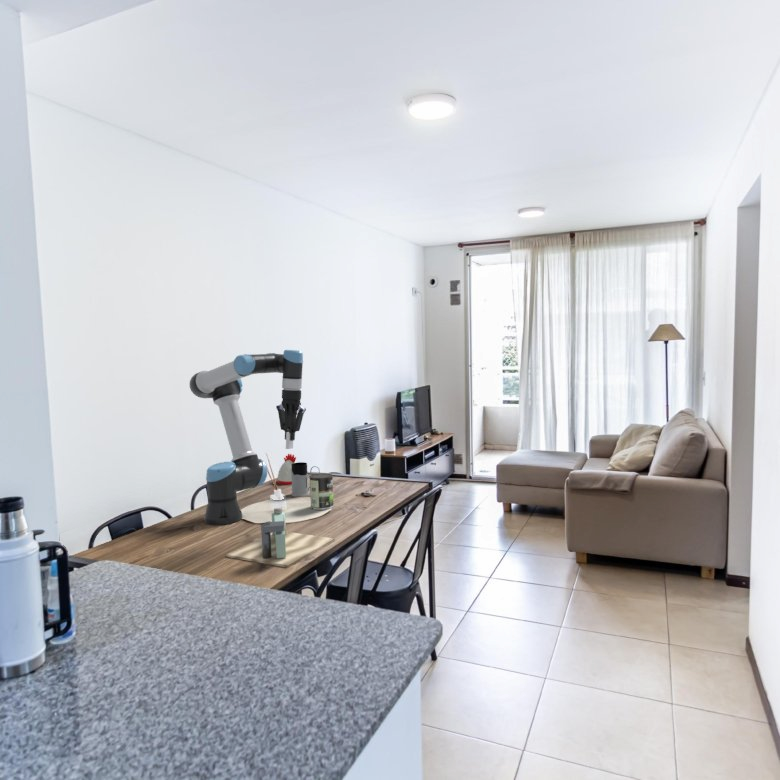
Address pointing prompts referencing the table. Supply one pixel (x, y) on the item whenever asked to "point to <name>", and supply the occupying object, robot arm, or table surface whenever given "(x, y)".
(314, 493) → the coffee can
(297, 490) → the grey and black mug
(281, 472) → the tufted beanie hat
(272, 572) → the table surface
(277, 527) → the keeper
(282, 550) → the link
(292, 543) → the pintle board
